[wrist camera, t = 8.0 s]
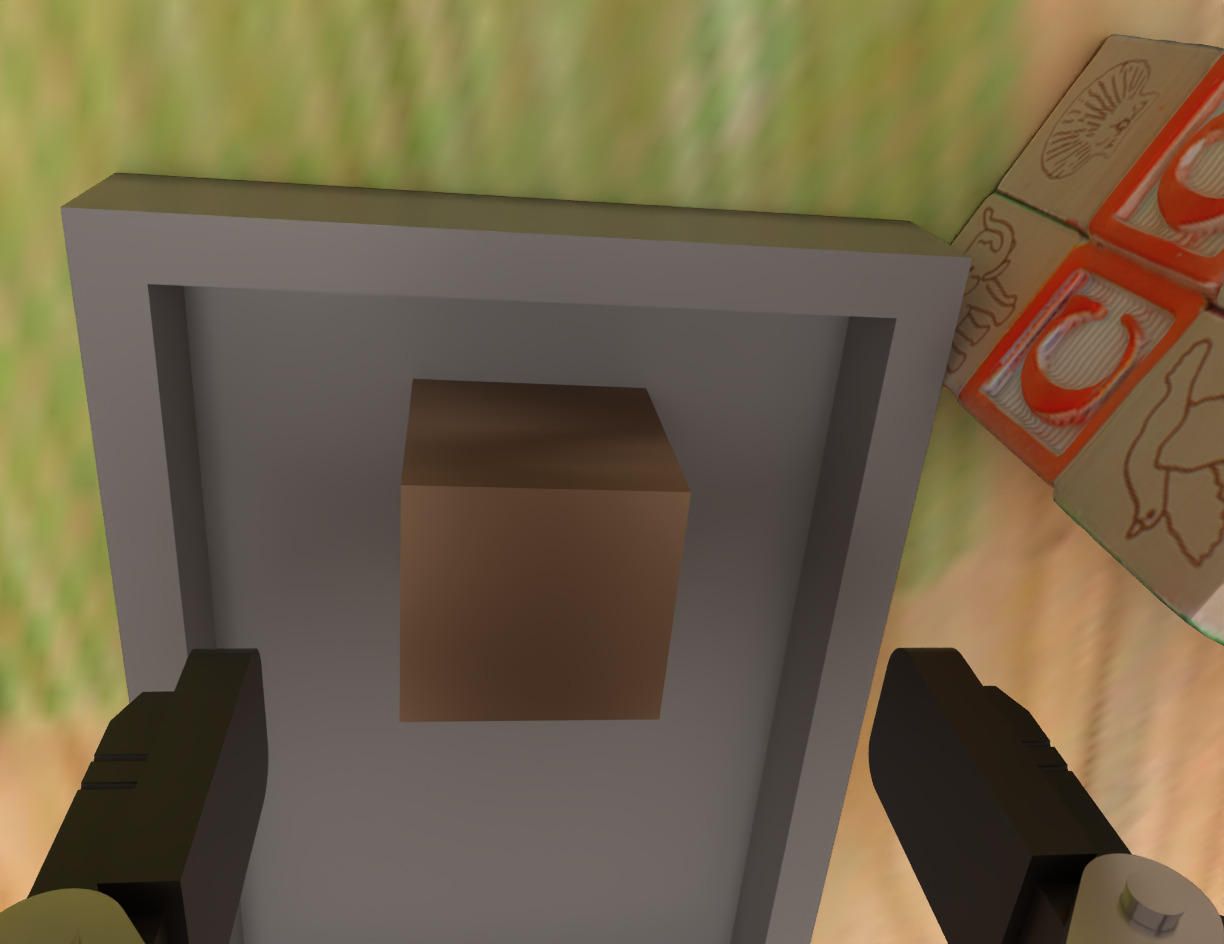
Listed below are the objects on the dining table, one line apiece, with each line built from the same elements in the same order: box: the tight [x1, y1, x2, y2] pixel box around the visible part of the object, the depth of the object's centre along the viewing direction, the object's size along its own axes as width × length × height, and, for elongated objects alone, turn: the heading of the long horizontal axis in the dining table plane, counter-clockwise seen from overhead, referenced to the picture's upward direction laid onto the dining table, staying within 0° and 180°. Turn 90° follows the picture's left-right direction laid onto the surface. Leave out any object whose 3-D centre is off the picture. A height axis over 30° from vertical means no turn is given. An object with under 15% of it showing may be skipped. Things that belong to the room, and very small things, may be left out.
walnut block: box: [399, 379, 691, 722], centre depth 17 cm, size 4×4×4 cm
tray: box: [61, 173, 972, 944], centre depth 20 cm, size 13×19×2 cm
